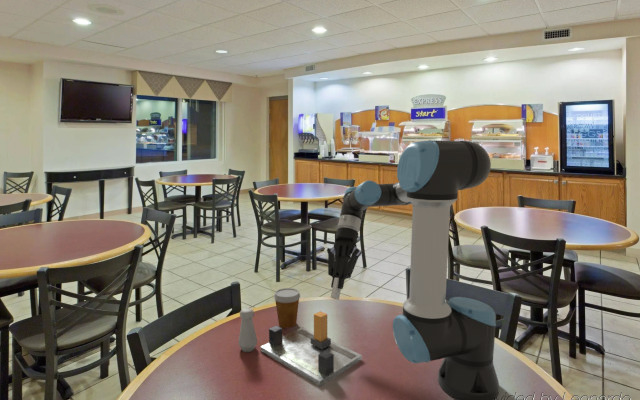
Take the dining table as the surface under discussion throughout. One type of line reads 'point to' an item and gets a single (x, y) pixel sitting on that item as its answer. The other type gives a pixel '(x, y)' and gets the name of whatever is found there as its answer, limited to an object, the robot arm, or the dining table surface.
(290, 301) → the disposable coffee cup
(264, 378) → the dining table surface
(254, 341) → the salt shaker
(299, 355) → the tray
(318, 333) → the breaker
